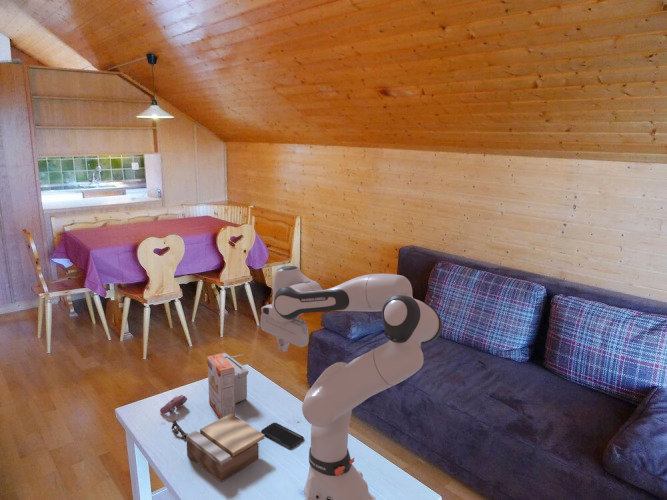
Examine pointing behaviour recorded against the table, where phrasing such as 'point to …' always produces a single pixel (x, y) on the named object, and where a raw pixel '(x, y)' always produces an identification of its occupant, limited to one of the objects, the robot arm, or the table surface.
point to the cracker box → (221, 385)
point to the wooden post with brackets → (178, 429)
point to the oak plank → (232, 434)
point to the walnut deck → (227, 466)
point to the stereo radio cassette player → (238, 378)
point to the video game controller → (173, 404)
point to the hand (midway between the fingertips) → (283, 350)
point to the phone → (282, 435)
